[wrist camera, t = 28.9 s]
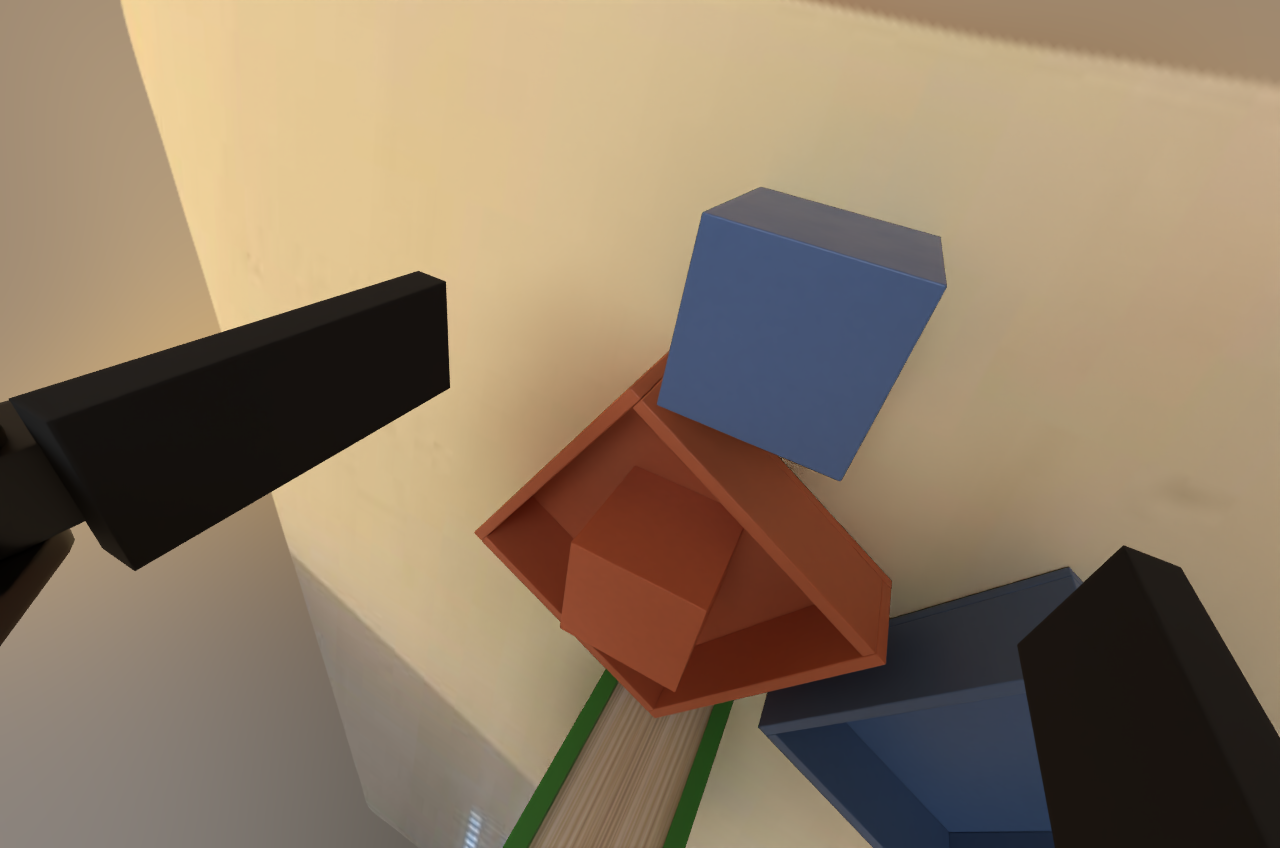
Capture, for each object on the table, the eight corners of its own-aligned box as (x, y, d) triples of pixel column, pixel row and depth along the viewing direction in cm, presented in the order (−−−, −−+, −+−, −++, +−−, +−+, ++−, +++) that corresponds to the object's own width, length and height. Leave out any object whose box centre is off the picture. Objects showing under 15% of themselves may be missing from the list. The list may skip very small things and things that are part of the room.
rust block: (749, 515, 24) (707, 611, 19) (717, 595, 27) (674, 693, 23) (634, 464, 26) (570, 542, 21) (617, 545, 29) (559, 628, 24)
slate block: (941, 236, 16) (947, 285, 12) (860, 395, 20) (840, 482, 15) (760, 186, 18) (702, 211, 13) (714, 341, 21) (655, 405, 17)
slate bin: (1297, 825, 20) (1375, 974, 17) (945, 829, 29) (948, 926, 26) (1069, 566, 19) (1101, 665, 16) (778, 651, 28) (757, 727, 25)
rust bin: (892, 581, 23) (886, 664, 19) (684, 652, 32) (654, 719, 28) (676, 344, 22) (629, 387, 19) (524, 485, 31) (473, 532, 27)
